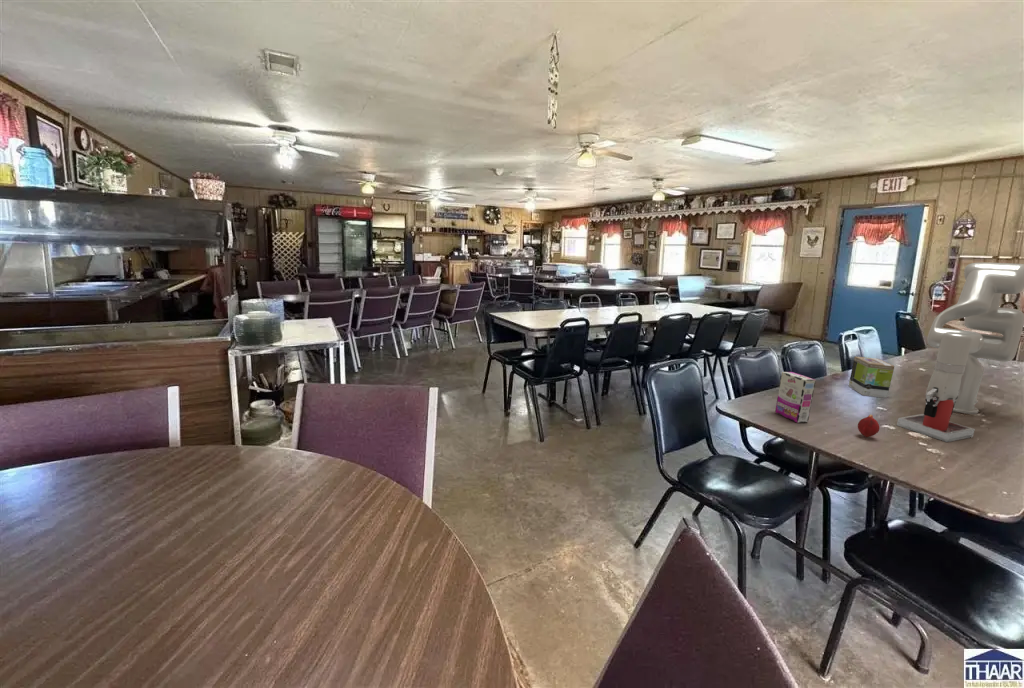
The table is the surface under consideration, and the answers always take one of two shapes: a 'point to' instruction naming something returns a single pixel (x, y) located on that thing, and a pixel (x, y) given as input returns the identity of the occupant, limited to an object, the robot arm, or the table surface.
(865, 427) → the onion
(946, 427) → the beer can
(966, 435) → the rimmed tray
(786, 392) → the candy bar box
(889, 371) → the tea box
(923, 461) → the table surface
